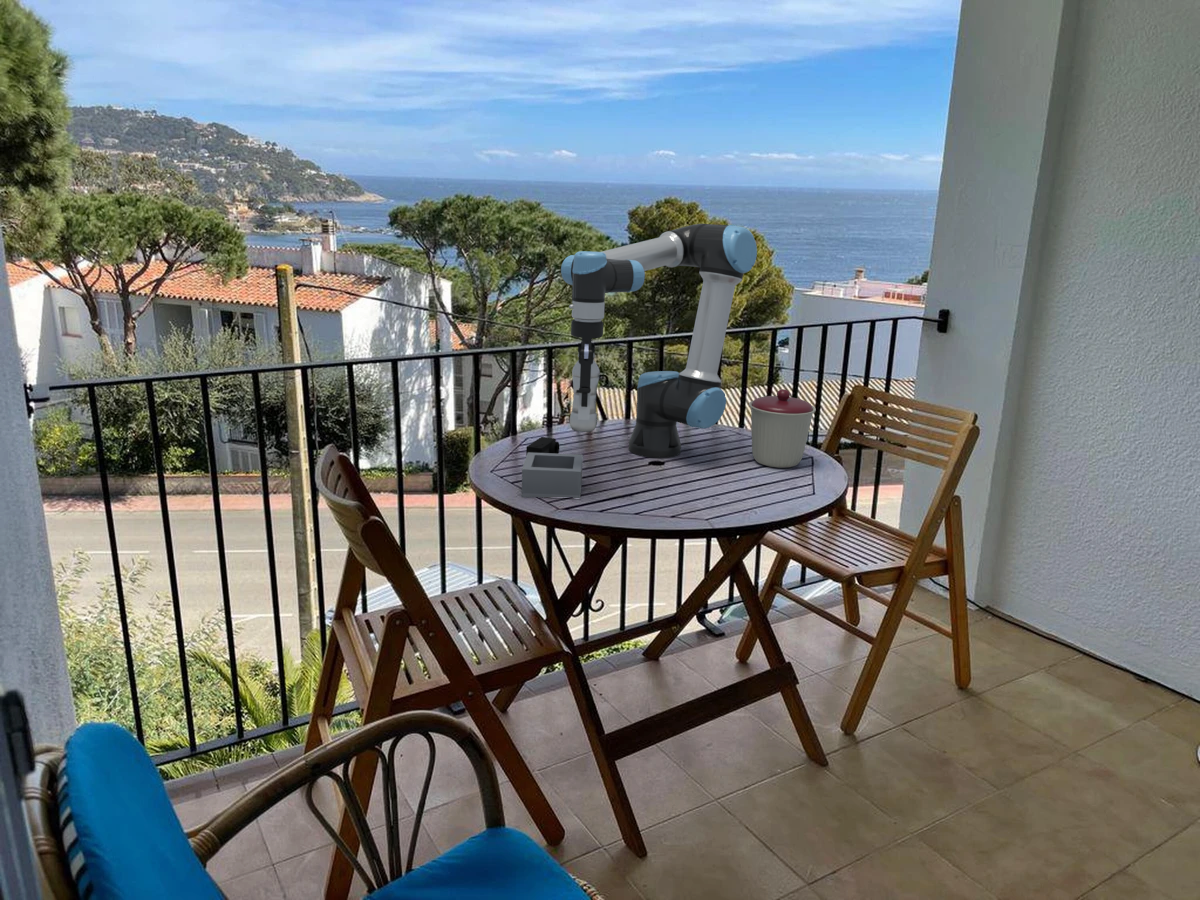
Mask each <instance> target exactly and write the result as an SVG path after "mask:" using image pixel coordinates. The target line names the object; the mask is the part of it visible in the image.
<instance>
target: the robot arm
mask: <svg viewBox="0 0 1200 900" xmlns="http://www.w3.org/2000/svg"><path fill="white" fill-rule="evenodd" d="M757 255H758V247H757V242H756V240H755V237H754V234H753V233H752V232H751V231H750V230H749V229H748V228H746V227H744V226H739V225H733V224H714V223H713V224H711V223H695V224H690V225H687V226H682V227H678V228H675V229H672V230H668V231H665V232H662V233H661V234H660V235H659V237H655V238H652V239H651V238H650V239H646V240H643V241H639V242H636V243H631V244H626V245H623V246H618V247H615V248H610V249H606V250H603V251H584V250H583V251H582V250H581V251H577V252H576V253H575V254H571V255H568V256H567V257H565V259H564V260H563V261H562V264H561V266H560V267H561V268H560V273H561V278H562V279H563V281H564V282H565V283H566V284H568V285H570V286H572V291H571V294H572V302H571V304H569V306H568V308H569V309H571V317H572V318H573V319H572V320H571V321H570V322H571V324H570V334H571V337H572V336H573V338H581V342H579V343H578V345H577V352H578V354H579V357H578V360H579V364H580V365H581V368H580V388H579V390H576V393H579V403H578V420H589V415H590V392H591V389H590V380H591V364H593V360H594V358H593V354H594V355H595V351H596V350H595V348H596V344H595V343H592V339H599V338H602V337H603V336H604V321H603V319H605V318H604V317H605V304H606V303H605V302H606V301H605V300H606V298H605V297H606V294H609V293H627V294H628V293H631V292H636V291H638V290H640V289H641V288H642V286H644V282H645V275H646V274H645V272H646V271H650V270H654V269H658V268H660V267H661V268H662V267H665V266H666V267H668V268H675V267H680V266H681V267H682V266H683V267H696V268H699V275H700V276H701V278H702V281H703V282H702V287H701V291H700V296H699V301H698V307H697V312H696V316H695V322H694V327H693V331H692V337H691V342H690V345H689V346H690V347H689V352H688V357H687V361H686V366H685V369H683V370H682V371H680V372H678V371H673V370H662V371H661V370H660V371H659V370H657V371H648V372H643V373H642V374H640V375H639V376H638V377H639V378H638V383H637V387H636V390H637V391H636V393H637V394H636V418H635V420H636V421H635V426H634V428H633V430H632V432H631V435H630V439H629V440H628V451H629V452H630V453H632V454H634V455H637V456H641V457H646V458H658V459H659V458H660V459H661V458H671V457H676V456H678V455H679V454H681V453H682V441H681V437H680V434H679V431H678V427H677V426H678V425H677V423H680V424H682V425H687V426H689V427H691V428H697V429H703V430H704V429H708V428H711V427H713V426H714V425H715V424H716V423H719V421H720V419H721V418H722V416H723V415H724V412H725V409H726V406H727V397H726V393H725V392H724V390H722V388H721V385H722V380H721V378H720V377H719V375H718V371H719V368H720V362H721V357H722V353H723V347H724V342H725V337H726V333H727V327H728V323H729V318H730V314H731V307H732V303H733V299H734V294H735V289H736V286H737V285H738V284H740V283H741V282H742V281H743V278H744V274H746V273H748V272H750V271H751V270H752V268H753V267H754V265H755V264H756V260H757Z"/></svg>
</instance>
